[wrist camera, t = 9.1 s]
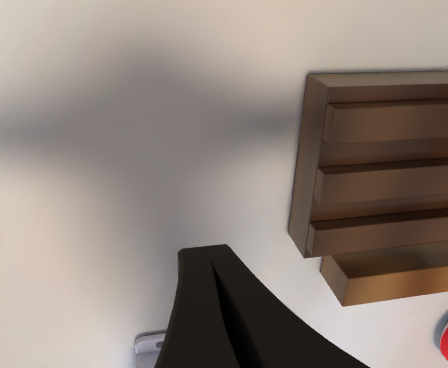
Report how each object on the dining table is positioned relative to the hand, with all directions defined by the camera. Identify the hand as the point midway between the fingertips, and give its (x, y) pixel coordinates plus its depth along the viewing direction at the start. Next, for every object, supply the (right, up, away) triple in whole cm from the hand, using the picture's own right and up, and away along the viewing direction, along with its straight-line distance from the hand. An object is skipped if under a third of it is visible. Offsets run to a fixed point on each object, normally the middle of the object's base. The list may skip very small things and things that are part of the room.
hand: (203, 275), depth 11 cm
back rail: (+16, -1, +16) cm, 23 cm away
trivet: (+9, +4, +11) cm, 15 cm away
